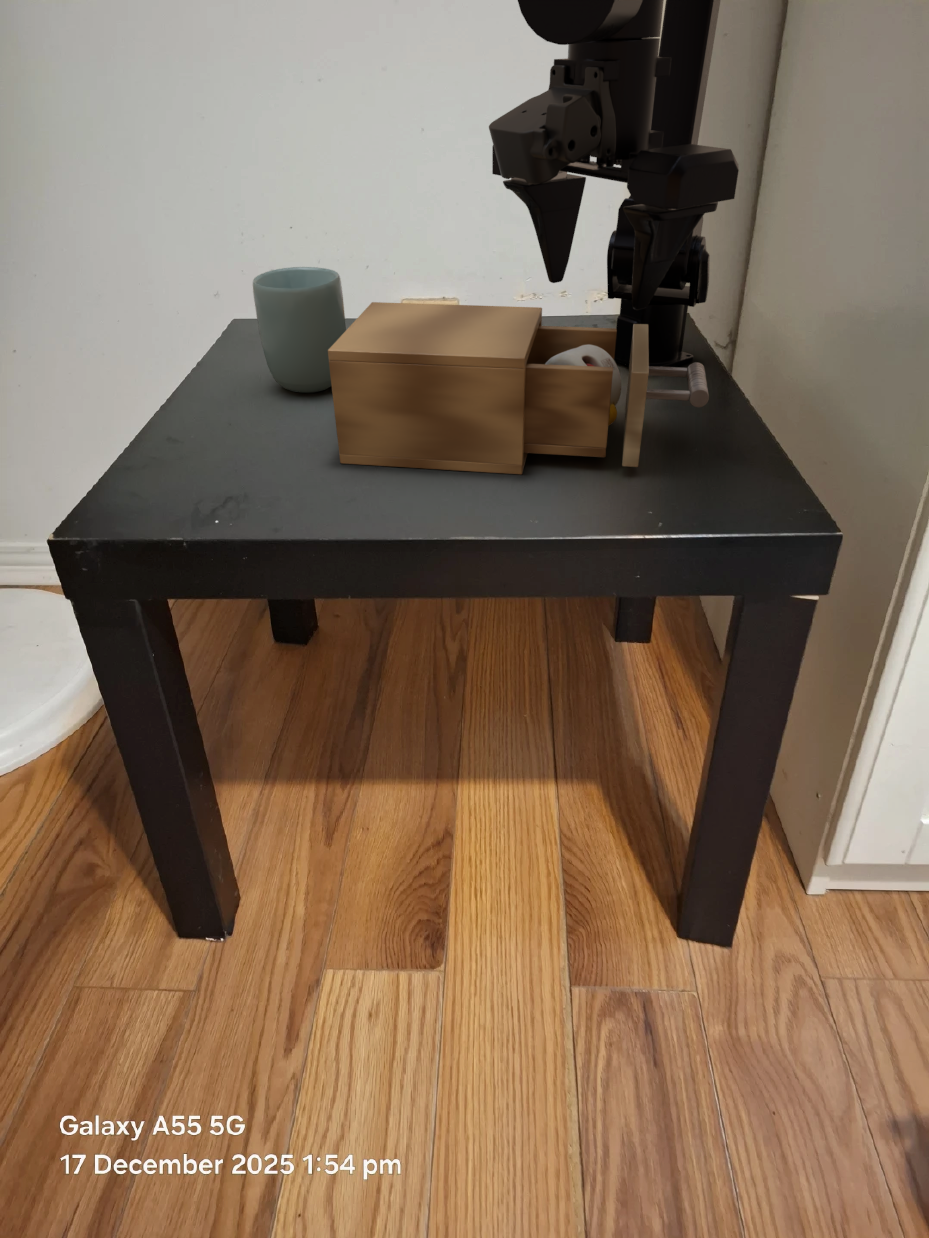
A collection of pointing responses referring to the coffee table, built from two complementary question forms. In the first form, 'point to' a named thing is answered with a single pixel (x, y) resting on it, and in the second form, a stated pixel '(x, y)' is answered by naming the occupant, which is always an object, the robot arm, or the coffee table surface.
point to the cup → (299, 324)
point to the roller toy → (592, 357)
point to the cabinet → (433, 386)
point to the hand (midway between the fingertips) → (595, 294)
